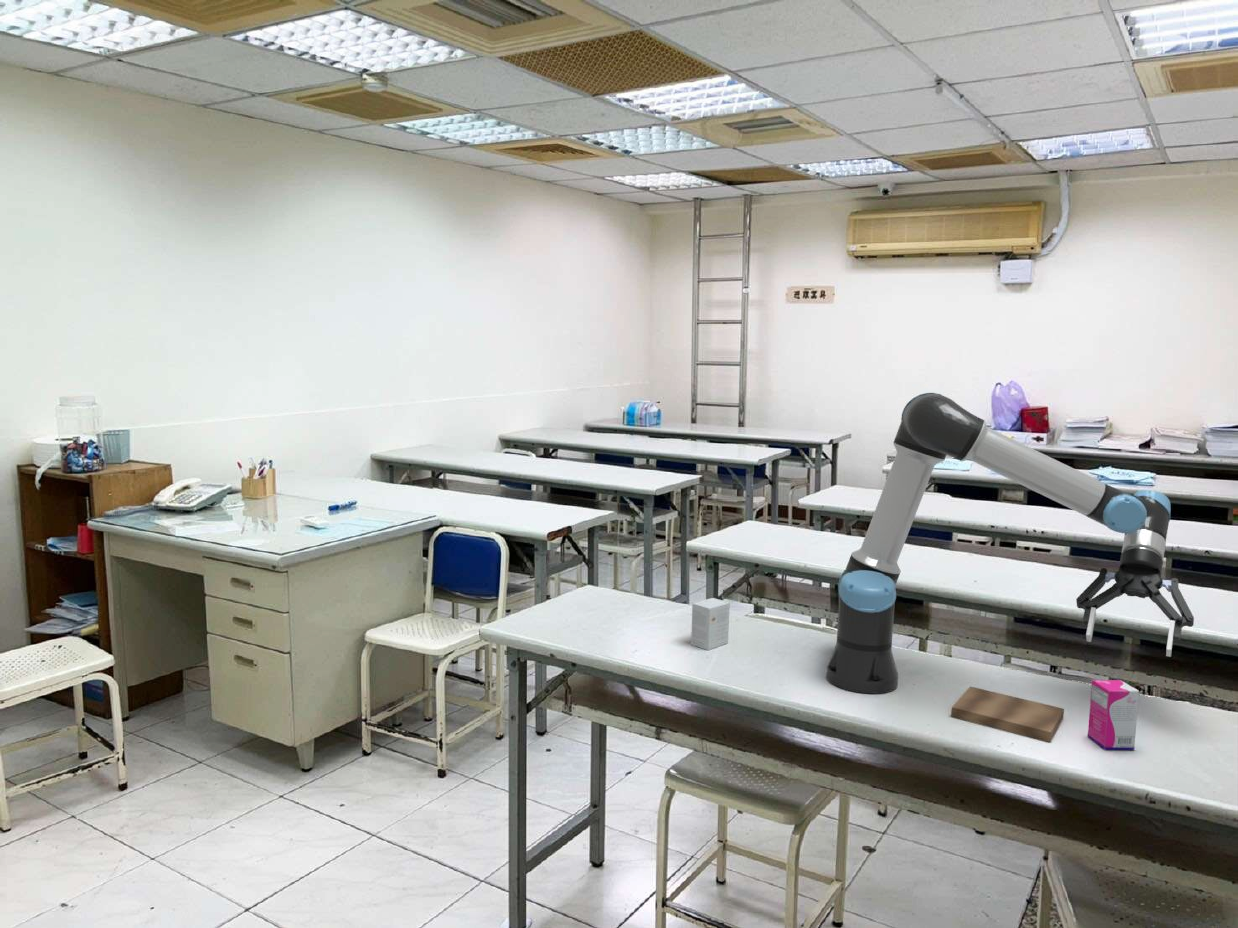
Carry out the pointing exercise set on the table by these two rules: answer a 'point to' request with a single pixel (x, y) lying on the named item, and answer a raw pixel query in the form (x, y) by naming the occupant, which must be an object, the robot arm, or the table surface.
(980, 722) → the brown flat block
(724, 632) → the small box
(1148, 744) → the table surface
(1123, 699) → the supplement box
